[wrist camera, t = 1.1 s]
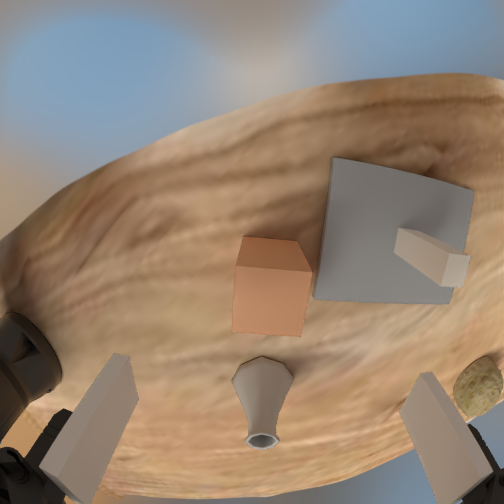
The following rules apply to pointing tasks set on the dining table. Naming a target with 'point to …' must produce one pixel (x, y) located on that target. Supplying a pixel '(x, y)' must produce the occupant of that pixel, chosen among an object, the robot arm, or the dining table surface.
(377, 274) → the grey flat base
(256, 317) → the peach square-faced block
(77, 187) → the dining table surface
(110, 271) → the dining table surface
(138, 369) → the dining table surface
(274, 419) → the flask
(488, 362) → the decorative object
